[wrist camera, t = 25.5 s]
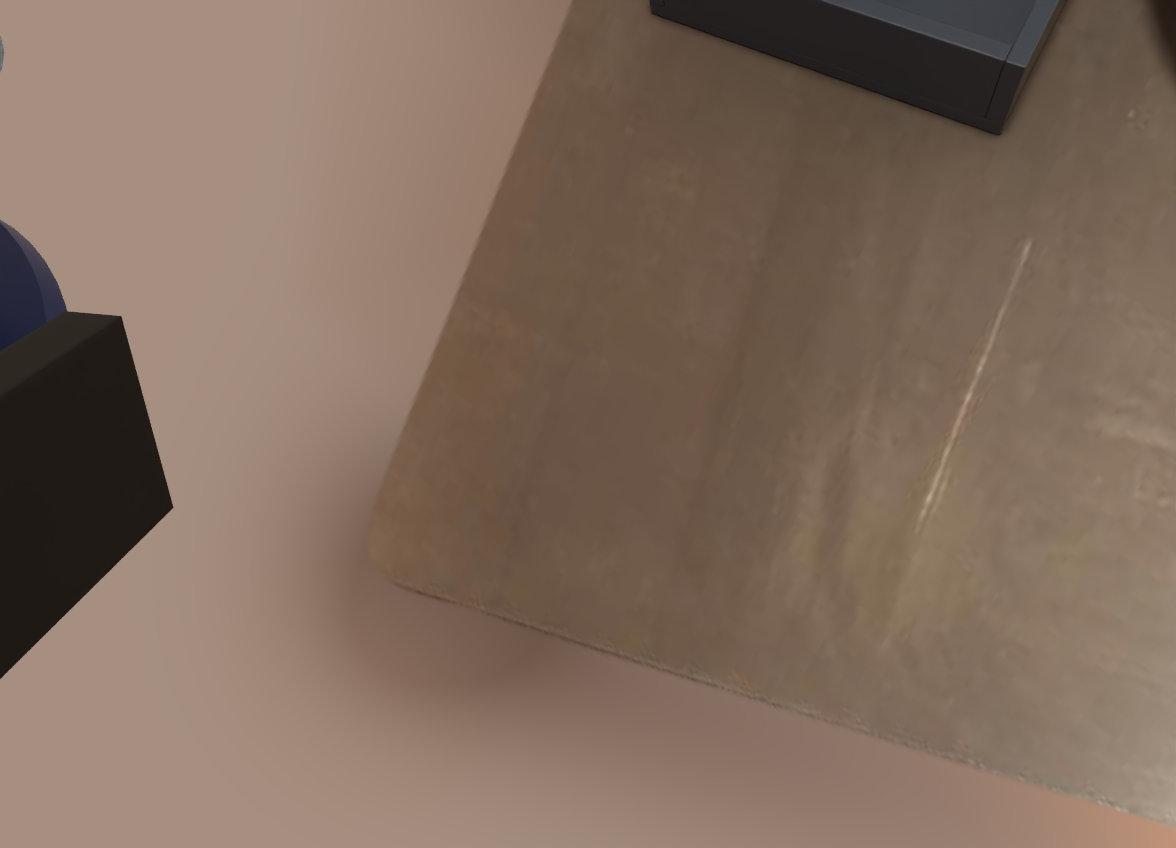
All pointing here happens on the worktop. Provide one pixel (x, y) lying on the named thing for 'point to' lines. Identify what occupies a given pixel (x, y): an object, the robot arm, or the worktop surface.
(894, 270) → the worktop surface
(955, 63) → the bin
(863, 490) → the worktop surface
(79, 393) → the robot arm
